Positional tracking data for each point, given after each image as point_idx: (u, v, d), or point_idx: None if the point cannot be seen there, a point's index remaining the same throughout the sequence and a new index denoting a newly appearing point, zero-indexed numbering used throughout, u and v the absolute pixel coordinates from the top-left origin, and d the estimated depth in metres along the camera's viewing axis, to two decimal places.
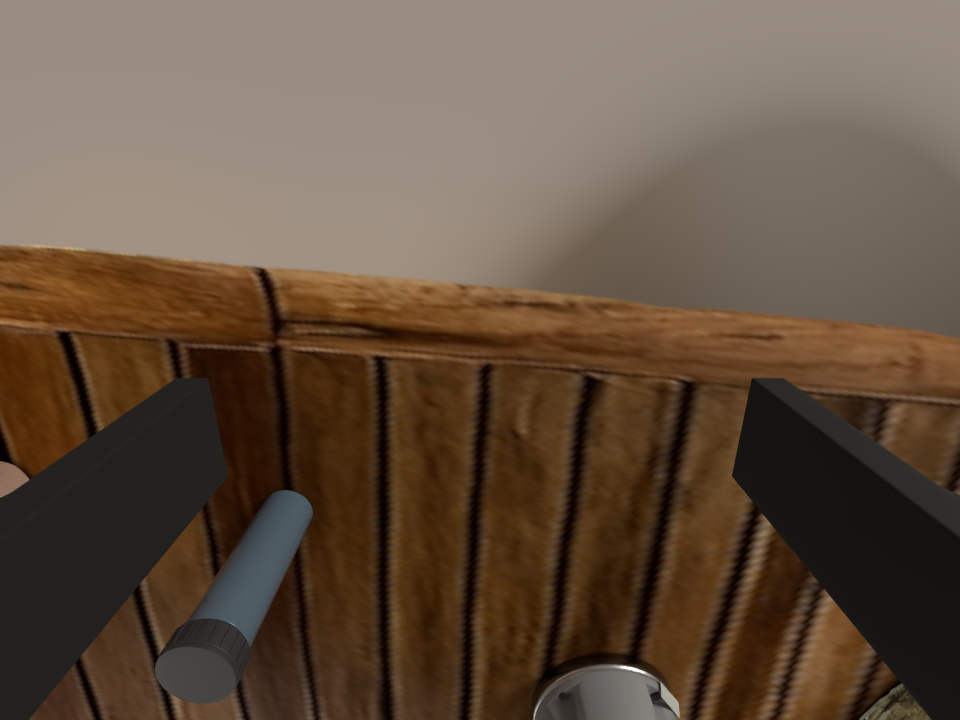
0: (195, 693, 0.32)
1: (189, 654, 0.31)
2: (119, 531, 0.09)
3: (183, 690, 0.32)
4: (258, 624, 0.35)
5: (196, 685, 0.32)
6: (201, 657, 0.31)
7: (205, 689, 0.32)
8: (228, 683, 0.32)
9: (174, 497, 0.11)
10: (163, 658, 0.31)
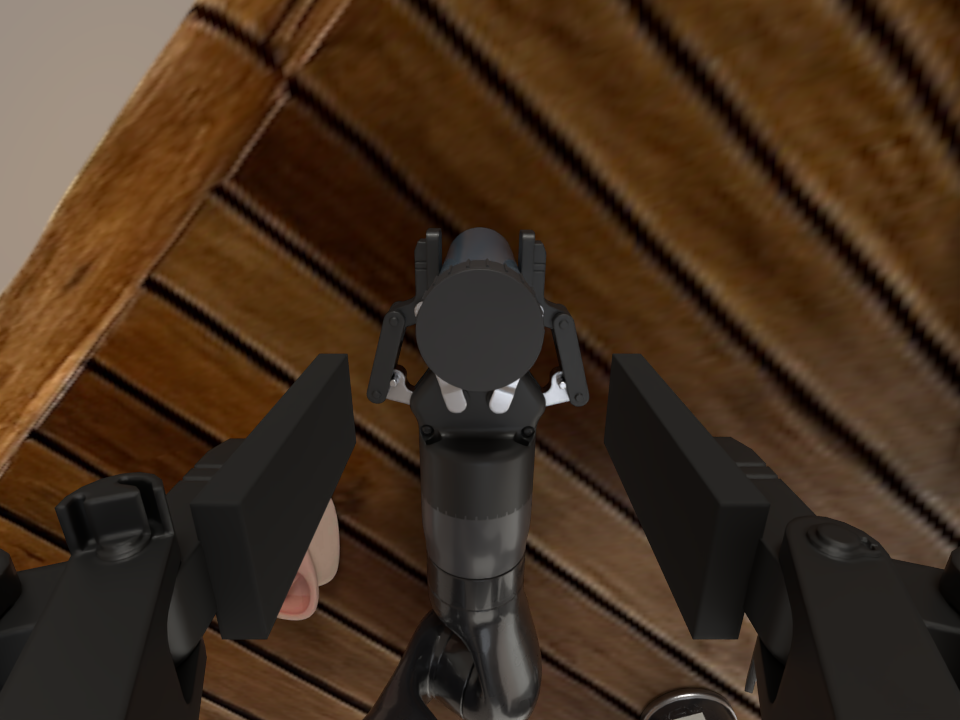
0: (505, 363, 0.20)
1: (442, 304, 0.19)
2: (310, 476, 0.11)
3: (488, 371, 0.20)
4: (514, 270, 0.23)
5: (494, 347, 0.20)
6: (458, 294, 0.19)
7: (509, 343, 0.20)
8: (525, 306, 0.19)
9: (333, 454, 0.12)
10: (423, 342, 0.20)
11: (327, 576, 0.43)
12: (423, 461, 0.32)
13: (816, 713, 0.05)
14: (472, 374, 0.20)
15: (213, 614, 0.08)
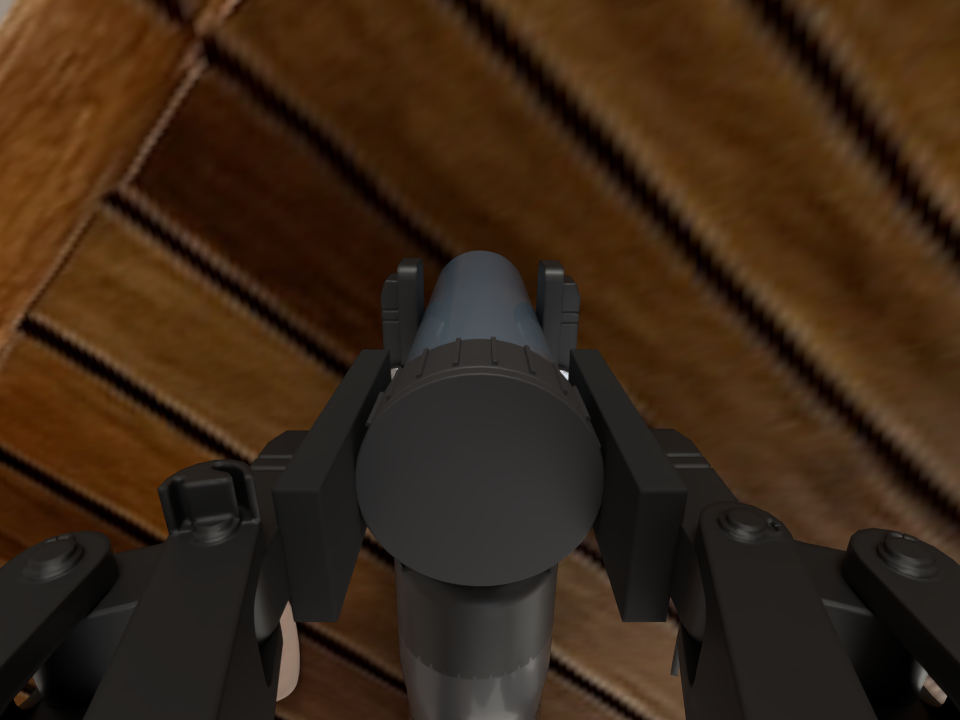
0: (528, 540, 0.11)
1: (404, 438, 0.10)
2: None
3: (496, 554, 0.11)
4: (538, 345, 0.13)
5: (507, 514, 0.10)
6: (436, 421, 0.10)
7: (537, 508, 0.10)
8: (570, 442, 0.10)
9: None
10: (370, 504, 0.10)
11: (283, 692, 0.34)
12: (399, 588, 0.22)
13: (725, 694, 0.05)
14: (465, 558, 0.11)
15: (288, 597, 0.08)
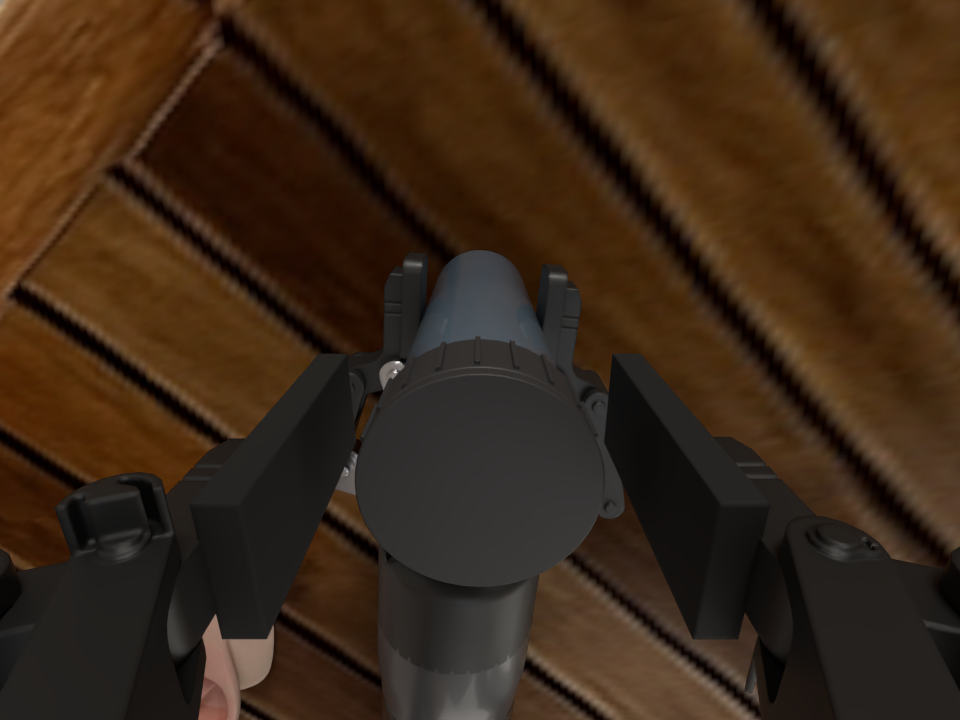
0: (560, 480, 0.10)
1: (395, 516, 0.10)
2: (310, 476, 0.11)
3: (557, 511, 0.10)
4: (542, 347, 0.13)
5: (520, 482, 0.10)
6: (392, 486, 0.10)
7: (529, 456, 0.10)
8: (478, 396, 0.09)
9: (333, 454, 0.12)
10: (442, 572, 0.11)
11: (255, 679, 0.34)
12: (381, 580, 0.22)
13: (816, 713, 0.05)
14: (544, 536, 0.11)
15: (213, 614, 0.08)
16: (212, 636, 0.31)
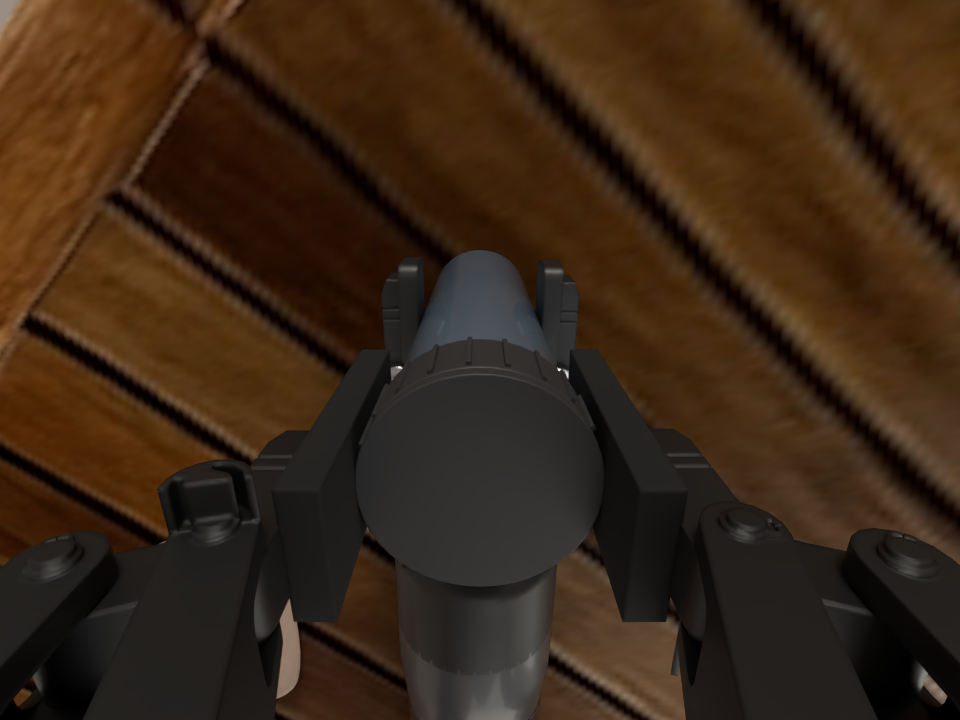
0: (559, 475, 0.10)
1: (397, 521, 0.10)
2: None
3: (559, 507, 0.10)
4: (538, 343, 0.13)
5: (519, 480, 0.10)
6: (393, 491, 0.10)
7: (526, 453, 0.10)
8: (470, 396, 0.09)
9: None
10: (448, 574, 0.11)
11: (284, 690, 0.34)
12: (399, 585, 0.22)
13: (725, 694, 0.05)
14: (548, 532, 0.10)
15: (288, 597, 0.08)
16: None
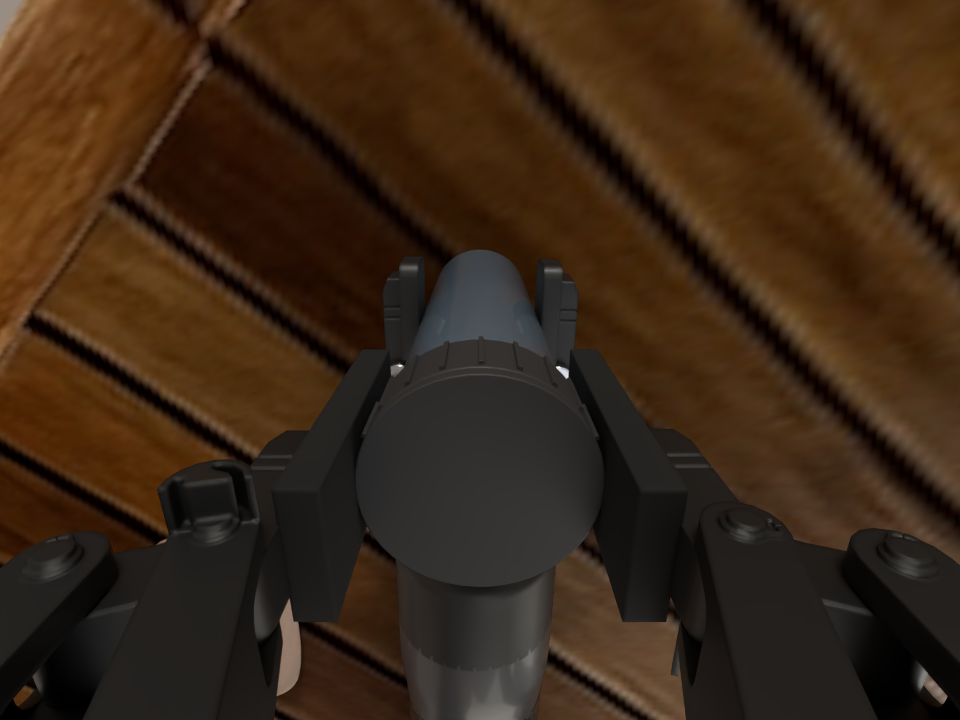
0: (502, 419, 0.10)
1: (475, 563, 0.11)
2: None
3: (538, 434, 0.10)
4: (537, 340, 0.14)
5: (487, 455, 0.10)
6: (443, 552, 0.11)
7: (462, 437, 0.10)
8: (382, 456, 0.10)
9: None
10: (556, 552, 0.11)
11: (285, 687, 0.34)
12: (399, 581, 0.23)
13: (725, 694, 0.05)
14: (561, 455, 0.10)
15: (288, 597, 0.08)
16: None
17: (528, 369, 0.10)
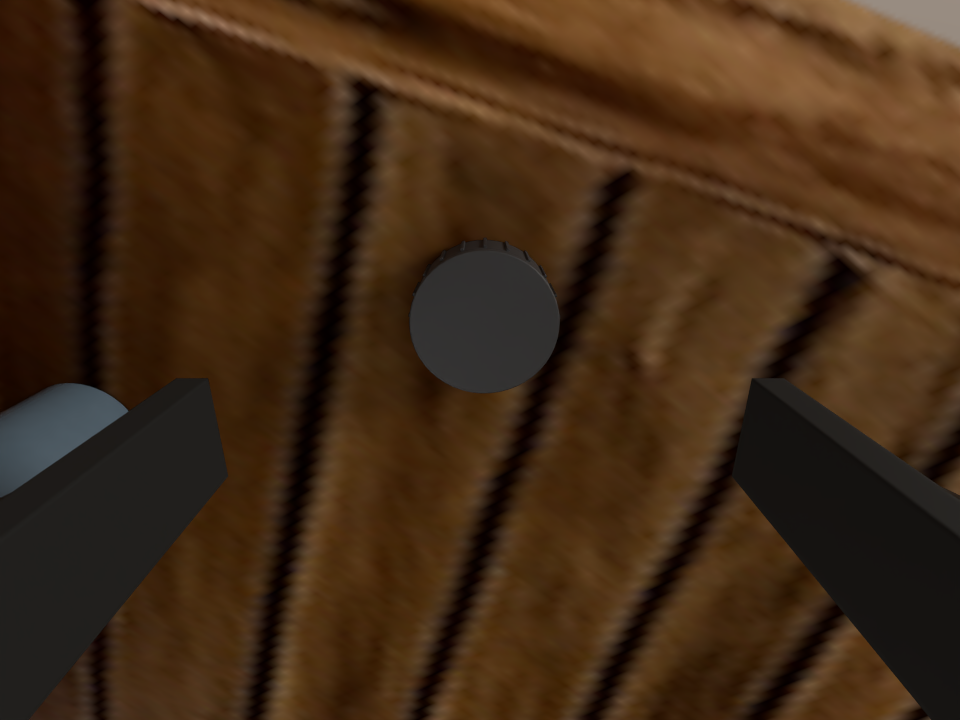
0: (497, 279, 0.16)
1: (481, 376, 0.18)
2: (119, 531, 0.09)
3: (518, 289, 0.16)
4: None
5: (488, 302, 0.17)
6: (462, 369, 0.17)
7: (474, 291, 0.16)
8: (426, 303, 0.17)
9: (174, 497, 0.11)
10: (531, 369, 0.17)
11: None
12: None
13: None
14: (532, 303, 0.17)
15: None
16: None
17: (513, 252, 0.17)
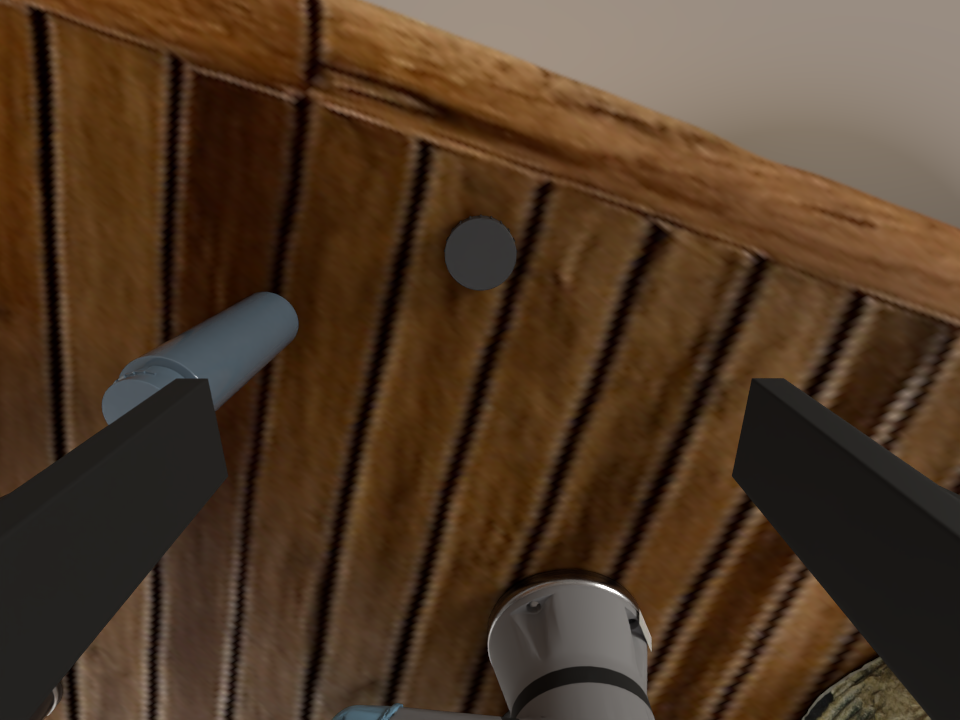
0: (486, 232, 0.35)
1: (479, 281, 0.36)
2: (119, 531, 0.09)
3: (496, 236, 0.35)
4: (222, 395, 0.28)
5: (482, 243, 0.35)
6: (469, 277, 0.36)
7: (475, 237, 0.35)
8: (453, 244, 0.35)
9: (174, 497, 0.11)
10: (503, 277, 0.36)
11: None
12: None
13: None
14: (503, 243, 0.35)
15: None
16: None
17: (494, 220, 0.35)
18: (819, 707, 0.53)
